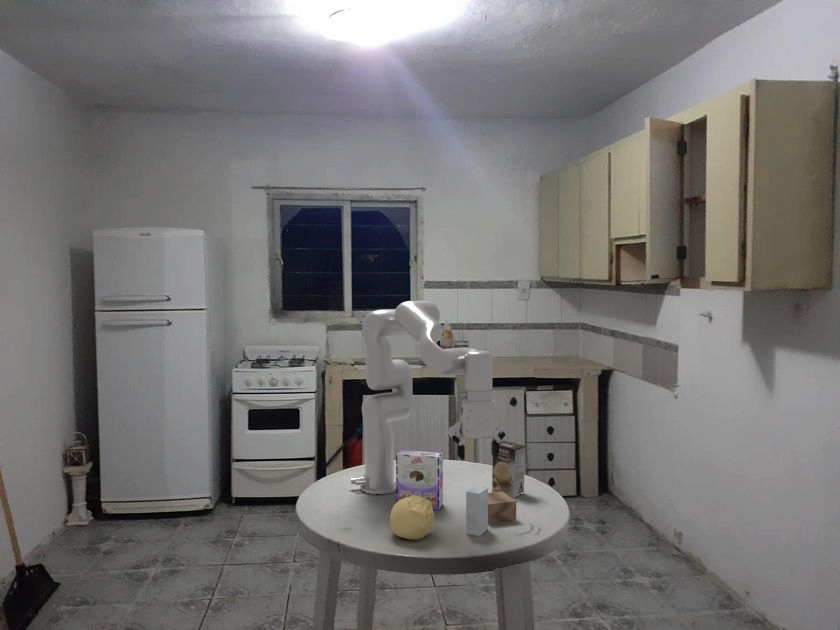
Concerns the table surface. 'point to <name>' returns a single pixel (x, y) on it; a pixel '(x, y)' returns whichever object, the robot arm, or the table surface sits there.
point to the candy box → (420, 476)
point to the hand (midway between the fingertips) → (478, 457)
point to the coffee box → (509, 469)
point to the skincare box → (477, 510)
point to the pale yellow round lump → (412, 517)
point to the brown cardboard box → (501, 508)
